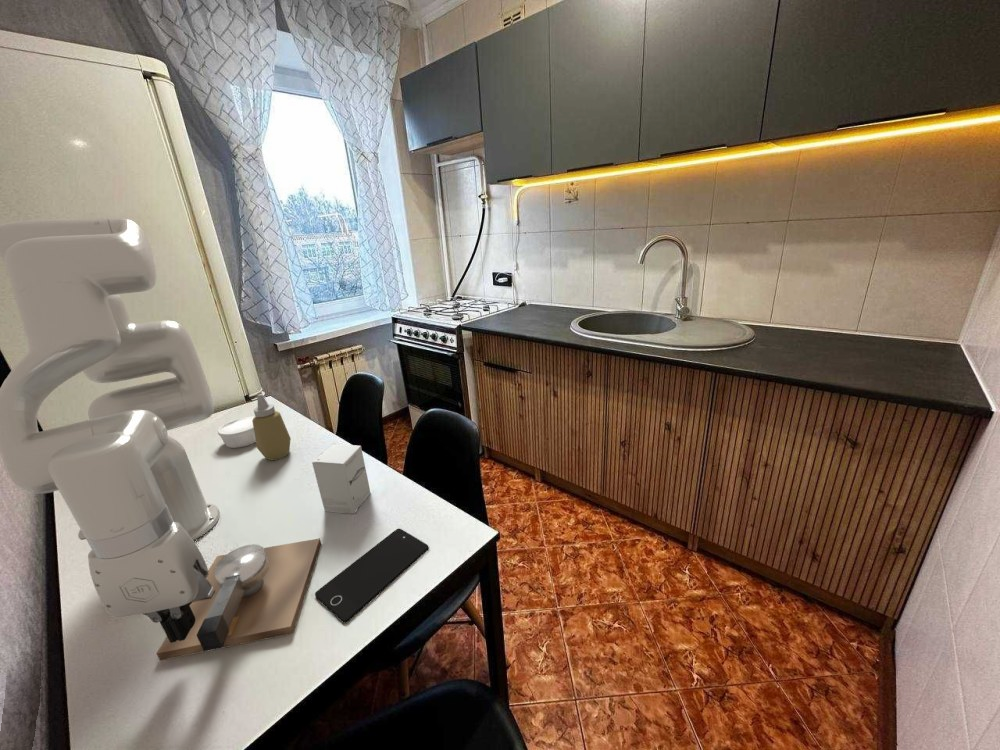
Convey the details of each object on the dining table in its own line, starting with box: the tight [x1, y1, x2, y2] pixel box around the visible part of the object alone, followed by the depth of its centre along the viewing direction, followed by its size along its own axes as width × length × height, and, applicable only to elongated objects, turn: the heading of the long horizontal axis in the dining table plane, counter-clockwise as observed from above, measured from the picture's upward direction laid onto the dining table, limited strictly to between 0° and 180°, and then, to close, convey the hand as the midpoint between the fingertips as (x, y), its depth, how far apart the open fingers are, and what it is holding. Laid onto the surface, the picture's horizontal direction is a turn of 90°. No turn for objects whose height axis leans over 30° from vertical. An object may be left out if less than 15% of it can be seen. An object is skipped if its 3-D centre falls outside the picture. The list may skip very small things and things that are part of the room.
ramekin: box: [217, 416, 256, 449], centre depth 115 cm, size 11×11×5 cm
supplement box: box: [311, 443, 371, 515], centre depth 85 cm, size 7×7×13 cm
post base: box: [156, 537, 322, 661], centre depth 65 cm, size 18×18×4 cm
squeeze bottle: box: [252, 393, 292, 461], centre depth 104 cm, size 8×8×18 cm
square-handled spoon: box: [196, 543, 269, 653], centre depth 60 cm, size 16×7×3 cm, turn 14°
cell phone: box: [314, 528, 430, 624], centre depth 69 cm, size 9×18×1 cm, turn 144°
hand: (183, 631), depth 55 cm, fingers closed
